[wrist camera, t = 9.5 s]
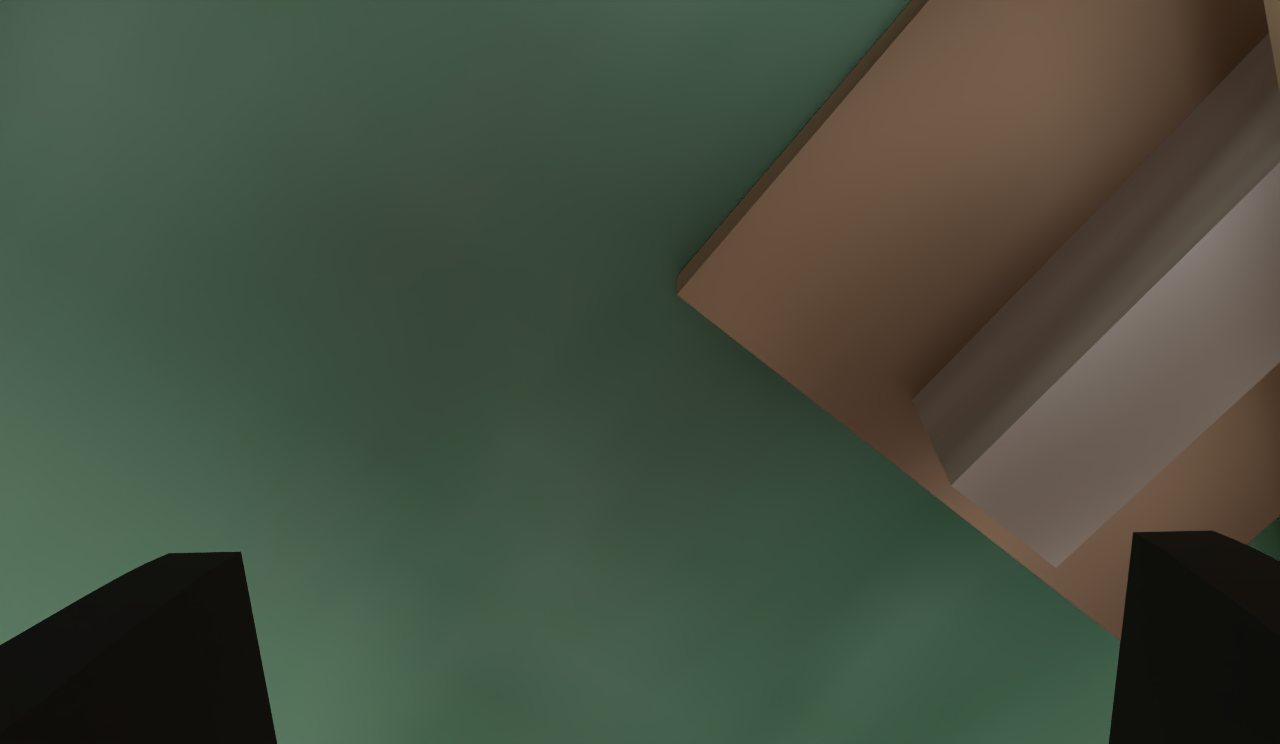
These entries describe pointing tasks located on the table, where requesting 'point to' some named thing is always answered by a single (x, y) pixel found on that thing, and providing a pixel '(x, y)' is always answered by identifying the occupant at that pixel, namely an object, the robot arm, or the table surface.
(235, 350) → the table surface
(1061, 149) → the ridge stand
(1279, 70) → the maple bar
